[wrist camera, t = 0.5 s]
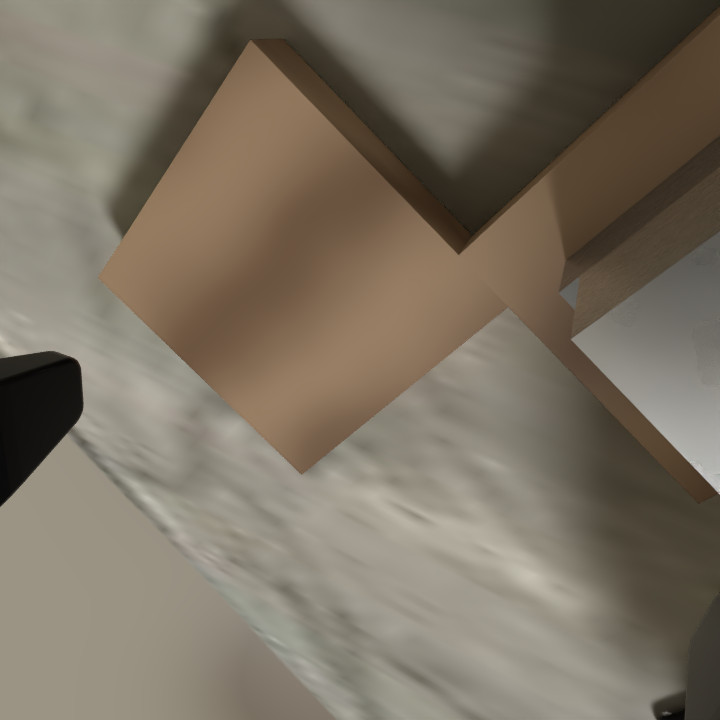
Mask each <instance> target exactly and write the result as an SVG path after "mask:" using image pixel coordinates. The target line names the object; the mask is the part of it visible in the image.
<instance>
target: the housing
mask: <svg viewBox="0 0 720 720" xmlns="http://www.w3.org/2000/svg"><path fill="white" fill-rule="evenodd" d="M559 294H560V295H561V296H562V297H563V298H564V299H565V300H566V301H567V302H568V303H569V304H570V305H571V306H572V308H573V309H574V310H575V314H574V321H573V328H572V335H571V340H572V341H573V342H574V343H575V344H576V345H577V346H578V347H579V348H580V349H581V350H582V351H583V352H584V354H585V355H586V356H587V357H588V358H589V359H590V360H591V361H592V362H593V363H594V364H595V365H596V366H597V367H598V368H599V369H600V370H601V371H602V372H603V373H604V374H605V375H606V376H607V377H608V379H609V380H610V381H611V382H612V383H613V384H614V385H615V386H616V387H617V388H618V389H619V390H620V391H621V392H622V393H623V394H624V395H625V396H626V397H627V398H628V399H629V400H630V401H631V402H632V403H633V405H634V406H635V407H636V408H637V409H638V410H639V411H640V412H641V413H642V414H643V415H644V416H645V417H646V418H647V419H648V420H649V421H650V422H651V423H652V424H653V425H654V426H655V427H656V428H657V430H658V431H659V432H660V433H661V434H662V435H663V436H664V437H665V438H666V439H667V440H668V441H669V442H670V443H671V444H672V445H673V446H674V447H675V448H676V449H677V450H678V451H679V452H680V453H681V455H682V456H683V457H684V458H685V459H686V460H687V461H688V462H689V463H690V464H691V465H692V466H693V467H694V468H695V469H696V470H697V471H698V472H699V473H700V474H701V475H702V476H703V477H704V478H705V480H706V481H707V482H708V483H709V484H710V485H711V486H712V487H713V488H714V489H715V490H716V491H717V492H718V493H719V494H720V135H719V136H718V137H717V138H715V139H714V140H713V141H712V142H711V143H709V144H708V145H707V146H706V147H704V148H703V149H702V150H701V151H699V152H698V153H697V154H696V155H695V156H693V157H692V158H691V159H690V160H688V161H687V162H686V163H685V164H683V165H682V166H681V167H680V168H679V169H677V170H676V171H675V172H674V173H672V174H671V175H670V176H669V177H667V178H666V179H665V180H664V181H663V182H661V183H660V184H659V185H658V186H656V187H655V188H654V189H653V190H651V191H650V192H649V193H648V194H646V195H645V196H644V197H643V198H642V199H640V200H639V201H638V202H637V203H635V204H634V205H633V206H632V207H630V208H629V209H628V210H627V211H626V212H624V213H623V214H622V215H621V216H619V217H618V218H617V219H616V220H614V221H613V222H612V223H611V224H610V225H608V226H607V227H606V228H605V229H603V230H602V231H601V232H600V233H598V234H597V235H596V236H595V237H594V238H592V239H591V240H590V241H589V242H587V243H586V244H585V245H584V246H582V247H581V248H580V249H579V250H578V251H576V252H575V253H574V254H573V255H571V256H570V257H569V258H568V259H566V261H565V265H564V270H563V275H562V279H561V284H560V289H559Z"/></svg>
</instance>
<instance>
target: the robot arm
mask: <svg viewBox="0 0 720 720" xmlns="http://www.w3.org/2000/svg"><path fill="white" fill-rule="evenodd" d="M82 411H83V390H82V376H81V367H80V365H79V363H78V361H77V360H76V359H74V358H72V357H70V356H67V355H64V354H61V353H58V352H55V351H46V352H40V353H33V354H27V355H20V356H14V357H7V358H0V507H1V506H2V505H3V504H4V503H5V502H6V501H7V500H8V499H9V498H10V497H11V496H12V495H13V494H14V493H15V491H16V490H17V489H18V488H19V487H20V486H21V485H22V484H23V483H24V482H25V481H26V479H27V478H28V477H29V476H30V475H31V474H32V473H33V471H34V470H35V469H36V468H37V467H38V466H39V465H40V463H41V462H42V461H43V460H44V459H45V458H46V456H47V455H48V454H49V453H50V452H51V451H52V450H53V449H54V447H55V446H56V445H57V444H58V443H59V442H60V441H61V440H62V438H63V437H64V436H65V435H66V434H67V433H68V432H69V430H70V429H71V428H72V427H73V426H74V425H75V424H76V422H77V421H78V420H79V418H80V416H81V414H82ZM658 720H720V592H719V593H718V594H717V596H716V597H715V599H714V600H713V602H712V604H711V605H710V607H709V609H708V610H707V612H706V614H705V615H704V617H703V619H702V620H701V622H700V623H699V625H698V627H697V628H696V630H695V632H694V634H693V636H692V639H691V642H690V646H689V652H688V668H687V687H686V706H685V711H682V712H679V713H675V714H672V715H669V716H665V717H662V718H660V719H658Z"/></svg>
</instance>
